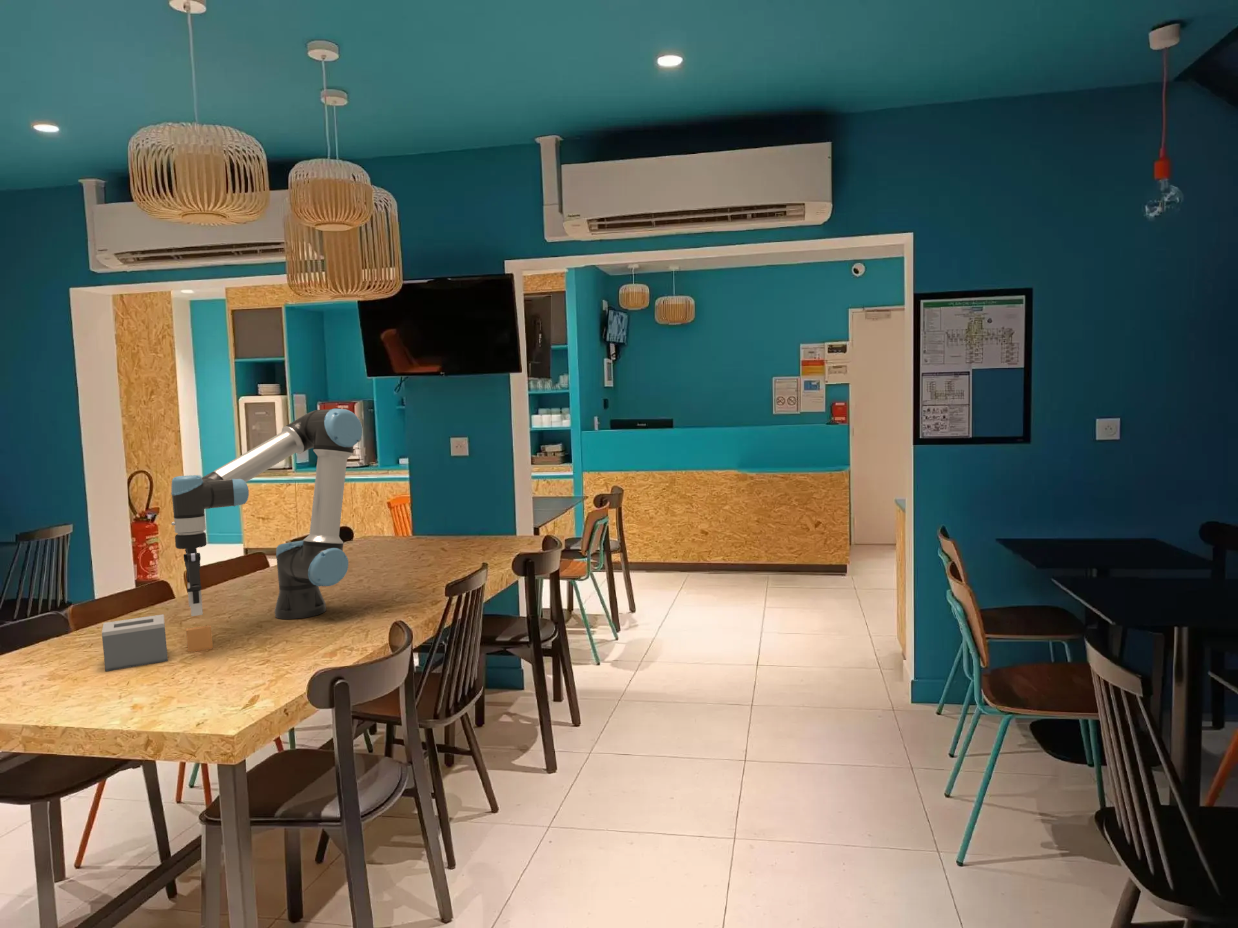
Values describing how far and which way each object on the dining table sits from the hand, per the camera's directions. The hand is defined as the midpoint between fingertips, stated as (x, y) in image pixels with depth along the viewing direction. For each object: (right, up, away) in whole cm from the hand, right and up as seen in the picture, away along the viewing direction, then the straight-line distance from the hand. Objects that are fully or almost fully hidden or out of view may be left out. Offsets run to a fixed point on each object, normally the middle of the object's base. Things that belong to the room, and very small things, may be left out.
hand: (195, 610), depth 230 cm
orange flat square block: (+1, -11, +1) cm, 11 cm away
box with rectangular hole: (-12, -12, -7) cm, 18 cm away
